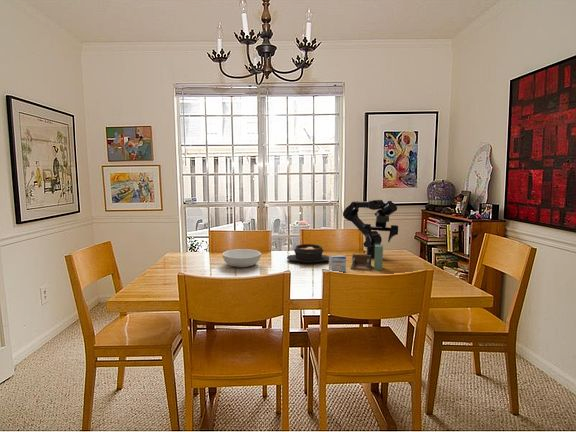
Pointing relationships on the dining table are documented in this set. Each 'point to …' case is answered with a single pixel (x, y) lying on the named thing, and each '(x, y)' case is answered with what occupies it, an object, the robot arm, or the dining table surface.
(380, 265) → the book
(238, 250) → the serving bowl
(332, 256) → the medicine box
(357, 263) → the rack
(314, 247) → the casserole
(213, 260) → the dining table surface
